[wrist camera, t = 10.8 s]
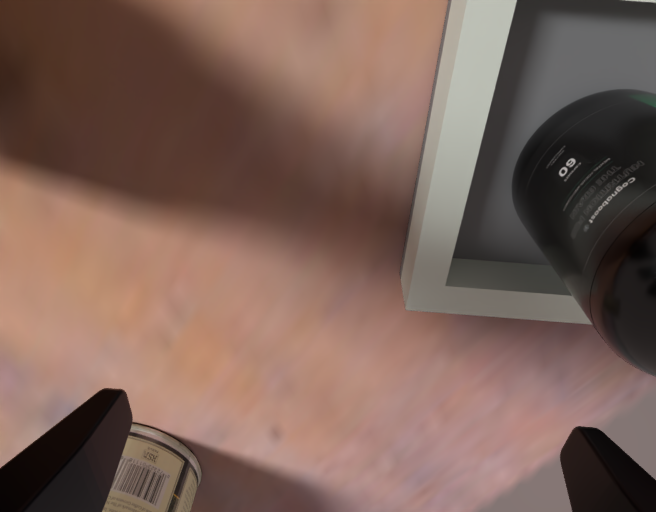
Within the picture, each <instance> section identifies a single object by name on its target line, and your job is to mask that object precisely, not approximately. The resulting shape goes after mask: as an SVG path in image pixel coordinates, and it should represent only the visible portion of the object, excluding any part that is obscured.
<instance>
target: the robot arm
mask: <svg viewBox="0 0 656 512" xmlns="http://www.w3.org/2000/svg"><path fill="white" fill-rule="evenodd" d="M131 426H132V412H131V408H130V405H129V401H128V397H127V394H126V392H125V391H124V390H122V389H112V388H105V389H102V390H100V391H99V392H97V393H96V394H95V395H93V396H92V397H91V398H90V399H88V400H87V401H86V402H84V403H83V404H82V405H81V406H79V407H78V408H77V409H75V410H74V411H73V412H72V413H70V414H69V415H68V416H67V417H65V418H64V419H63V420H61V421H60V422H59V423H58V424H56V425H55V426H54V427H52V428H51V429H50V430H49V431H47V432H46V433H45V434H43V435H42V436H41V437H40V438H38V439H37V440H36V441H34V442H33V443H32V444H31V445H29V446H28V447H27V448H25V449H24V450H23V451H22V452H20V453H19V454H18V455H16V456H15V457H14V458H13V459H11V460H10V461H9V462H8V463H6V464H5V465H4V466H2V467H1V468H0V512H102V511H103V508H104V506H105V504H106V501H107V498H108V495H109V492H110V489H111V486H112V483H113V480H114V477H115V474H116V471H117V468H118V465H119V462H120V459H121V456H122V453H123V450H124V447H125V444H126V441H127V438H128V435H129V432H130V429H131ZM560 461H561V466H562V470H563V474H564V478H565V483H566V487H567V491H568V495H569V499H570V504H571V507H572V512H656V480H655V479H654V478H653V477H651V476H650V475H649V474H648V473H647V472H646V471H645V470H644V469H643V468H642V467H641V466H639V465H638V464H637V463H636V462H635V461H634V460H633V459H632V458H631V457H630V456H629V455H627V454H626V453H625V452H624V451H623V450H622V449H621V448H620V447H619V446H618V445H616V444H615V443H614V442H613V441H612V440H611V439H610V438H609V437H607V435H605V434H604V433H603V432H602V431H601V430H599V429H597V428H593V427H581V426H578V427H575V428H574V429H573V430H572V432H571V434H570V436H569V437H568V439H567V441H566V443H565V444H564V446H563V448H562V450H561V454H560Z"/></svg>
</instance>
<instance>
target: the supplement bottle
mask: <svg viewBox="0 0 656 512" xmlns="http://www.w3.org/2000/svg"><path fill="white" fill-rule="evenodd" d="M512 200H513V204H514V208H515V210H516V213H517V215H518V217H519V219H520V221H521V222H522V224H523V225H524V227H525V228H526V230H527V232H528V233H529V234H530V236H531V237H532V239H533V240H534V242H535V243H536V244H537V246H538V247H539V249H540V250H541V252H542V253H543V254H544V256H545V257H546V259H547V260H548V262H549V263H550V264H551V266H552V267H553V269H554V270H555V272H556V273H557V274H558V276H559V277H560V279H561V280H562V282H563V283H564V285H565V286H566V287H567V289H568V290H569V292H570V293H571V295H572V296H573V297H574V299H575V300H576V302H577V303H578V305H579V306H580V307H581V309H582V310H583V312H584V313H585V315H586V316H587V317H588V319H589V320H590V322H591V323H592V325H593V326H594V327H595V329H596V330H597V332H598V333H599V334H600V336H601V337H602V338H603V339H604V341H605V342H606V343H607V345H608V346H609V347H610V348H611V349H612V350H613V351H614V352H615V353H616V354H617V355H618V356H619V357H620V358H622V359H623V360H624V361H626V362H627V363H629V364H630V365H632V366H634V367H635V368H637V369H639V370H641V371H643V372H646V373H648V374H650V375H653V376H655V377H656V94H654V93H650V92H647V91H641V90H636V89H615V90H607V91H602V92H598V93H594V94H591V95H588V96H585V97H583V98H580V99H578V100H576V101H574V102H572V103H570V104H568V105H567V106H565V107H563V108H562V109H560V110H559V111H557V112H556V113H554V114H553V115H552V116H551V117H549V118H548V119H547V120H546V121H545V122H544V123H543V124H542V125H541V126H540V127H539V128H538V129H537V130H536V131H535V132H534V133H533V135H532V136H531V137H530V139H529V140H528V141H527V143H526V144H525V146H524V148H523V149H522V151H521V153H520V155H519V157H518V160H517V162H516V165H515V168H514V172H513V177H512Z"/></svg>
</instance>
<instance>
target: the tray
mask: <svg viewBox="0 0 656 512" xmlns="http://www.w3.org/2000/svg"><path fill="white" fill-rule="evenodd" d="M615 89H636V90H641V91H647V92H650V93H654V94H656V0H448V5H447V11H446V16H445V22H444V27H443V33H442V39H441V44H440V50H439V55H438V61H437V66H436V72H435V78H434V83H433V89H432V94H431V100H430V106H429V111H428V117H427V122H426V128H425V133H424V139H423V145H422V150H421V156H420V161H419V167H418V173H417V178H416V184H415V189H414V195H413V200H412V206H411V212H410V217H409V223H408V228H407V234H406V239H405V245H404V251H403V256H402V262H401V267H400V279H401V285H402V292H403V298H404V304H405V310H410V311H423V312H436V313H449V314H461V315H474V316H487V317H500V318H513V319H526V320H539V321H552V322H565V323H578V324H591V325H592V323H591V322H590V320H589V319H588V317H587V316H586V315H585V313H584V312H583V310H582V309H581V307H580V306H579V305H578V303H577V302H576V300H575V299H574V297H573V296H572V295H571V293H570V292H569V290H568V289H567V287H566V286H565V285H564V283H563V282H562V280H561V279H560V277H559V276H558V274H557V273H556V272H555V270H554V269H553V267H552V266H551V264H550V263H549V262H548V260H547V259H546V257H545V256H544V254H543V253H542V252H541V250H540V249H539V247H538V246H537V244H536V243H535V242H534V240H533V239H532V237H531V236H530V234H529V233H528V232H527V230H526V228H525V227H524V225H523V224H522V222H521V221H520V219H519V217H518V215H517V213H516V210H515V208H514V204H513V200H512V177H513V172H514V168H515V165H516V162H517V160H518V157H519V155H520V153H521V151H522V149H523V148H524V146H525V144H526V143H527V141H528V140H529V139H530V137H531V136H532V135H533V133H534V132H535V131H536V130H537V129H538V128H539V127H540V126H541V125H542V124H543V123H544V122H545V121H546V120H547V119H548V118H549V117H551V116H552V115H553V114H554V113H556V112H557V111H559V110H560V109H562V108H563V107H565V106H567V105H568V104H570V103H572V102H574V101H576V100H578V99H580V98H583V97H585V96H588V95H591V94H594V93H598V92H602V91H607V90H615Z"/></svg>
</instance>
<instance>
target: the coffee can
mask: <svg viewBox="0 0 656 512" xmlns="http://www.w3.org/2000/svg"><path fill="white" fill-rule="evenodd" d="M201 476H202V472H201V469H200V465H199V463H198V461H197V459H196V457H195V456H194V455H193V454H192V452H191V451H190V450H189V449H188V448H187V447H186V446H184V445H183V444H182V443H181V442H180V441H177V440H176V439H174V438H172V437H170V436H169V435H167V434H165V433H162V432H160V431H158V430H155V429H152V428H150V427H146V426H142V425H138V424H133V423H132V426H131V429H130V432H129V435H128V438H127V441H126V444H125V447H124V450H123V453H122V456H121V459H120V462H119V465H118V468H117V471H116V474H115V477H114V480H113V483H112V486H111V489H110V492H109V495H108V498H107V501H106V504H105V506H104V508H103V511H102V512H190V511H191V508H192V504H193V501H194V497H195V494H196V491H197V488H198V486H199V484H200V481H201Z"/></svg>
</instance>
